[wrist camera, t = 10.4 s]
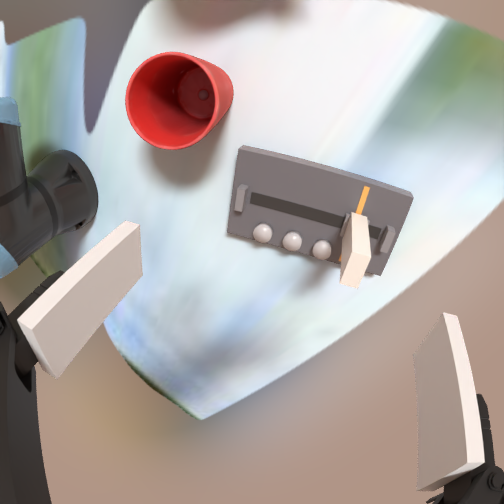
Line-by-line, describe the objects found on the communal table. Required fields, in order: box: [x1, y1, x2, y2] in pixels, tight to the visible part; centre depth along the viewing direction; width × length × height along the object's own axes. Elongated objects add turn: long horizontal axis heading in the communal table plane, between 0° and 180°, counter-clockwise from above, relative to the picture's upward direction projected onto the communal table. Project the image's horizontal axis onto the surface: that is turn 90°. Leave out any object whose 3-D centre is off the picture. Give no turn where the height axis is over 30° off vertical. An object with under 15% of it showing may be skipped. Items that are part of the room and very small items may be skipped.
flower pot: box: [125, 52, 233, 150], centre depth 32 cm, size 11×11×10 cm
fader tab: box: [340, 212, 371, 289], centre depth 34 cm, size 3×4×10 cm
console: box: [227, 145, 413, 276], centre depth 39 cm, size 22×12×4 cm, turn 81°
